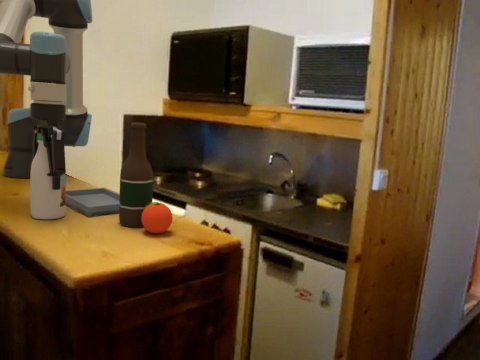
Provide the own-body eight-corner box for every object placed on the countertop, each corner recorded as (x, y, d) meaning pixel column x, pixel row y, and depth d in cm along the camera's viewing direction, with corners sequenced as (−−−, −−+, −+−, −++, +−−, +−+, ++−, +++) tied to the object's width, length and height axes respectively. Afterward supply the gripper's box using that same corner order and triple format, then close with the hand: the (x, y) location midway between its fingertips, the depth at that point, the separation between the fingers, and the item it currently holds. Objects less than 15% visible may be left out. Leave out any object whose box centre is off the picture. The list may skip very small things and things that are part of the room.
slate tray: (57, 200, 124) (57, 191, 124) (104, 195, 134) (104, 187, 133) (87, 217, 110) (88, 207, 109) (138, 210, 119) (139, 201, 119)
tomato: (131, 230, 102) (132, 200, 101) (155, 225, 107) (156, 196, 106) (154, 239, 97) (155, 207, 96) (178, 233, 102) (179, 203, 101)
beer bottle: (140, 217, 113) (143, 121, 109) (158, 225, 107) (162, 124, 103) (112, 221, 107) (114, 121, 103) (129, 230, 102) (132, 124, 98)
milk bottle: (52, 221, 104) (53, 135, 100) (23, 217, 105) (22, 132, 102) (71, 214, 111) (72, 133, 108) (43, 210, 113) (43, 130, 109)
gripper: (16, 99, 108) (17, 191, 112) (47, 104, 94) (47, 210, 98) (48, 101, 113) (48, 189, 117) (82, 106, 99) (81, 206, 103)
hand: (48, 198), depth 108 cm, fingers closed on milk bottle, 8 cm apart
